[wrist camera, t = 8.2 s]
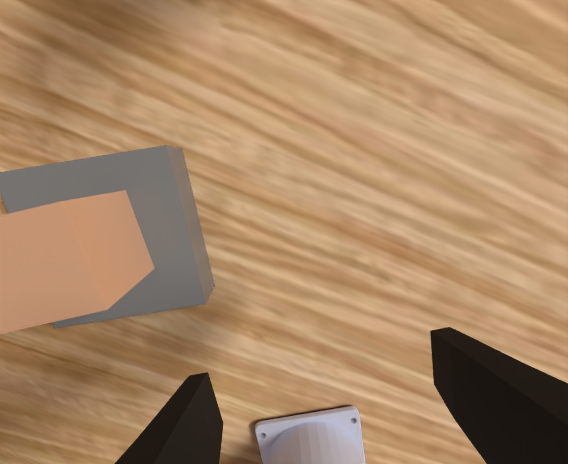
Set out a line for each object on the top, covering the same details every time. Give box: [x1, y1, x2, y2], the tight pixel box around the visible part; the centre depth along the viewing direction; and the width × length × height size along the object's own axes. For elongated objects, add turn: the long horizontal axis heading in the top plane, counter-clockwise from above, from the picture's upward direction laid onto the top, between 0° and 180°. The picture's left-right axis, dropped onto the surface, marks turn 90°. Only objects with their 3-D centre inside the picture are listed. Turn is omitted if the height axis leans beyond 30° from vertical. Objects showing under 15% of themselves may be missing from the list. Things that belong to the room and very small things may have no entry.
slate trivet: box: [0, 145, 215, 328], centre depth 16 cm, size 9×9×3 cm
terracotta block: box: [0, 190, 155, 334], centre depth 13 cm, size 4×4×4 cm
